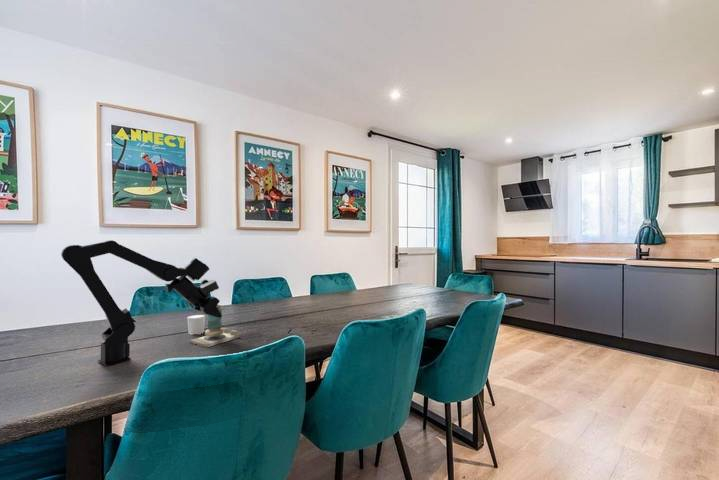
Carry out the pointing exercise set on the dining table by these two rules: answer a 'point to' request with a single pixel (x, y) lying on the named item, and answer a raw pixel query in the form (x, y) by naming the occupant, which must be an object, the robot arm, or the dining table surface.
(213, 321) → the bobbin
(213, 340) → the notched board
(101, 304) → the robot arm
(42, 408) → the dining table surface
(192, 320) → the white rounded piece
